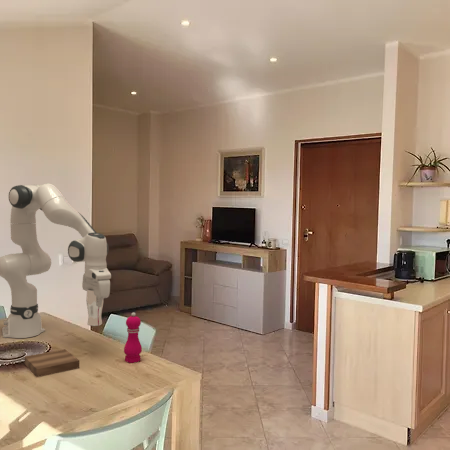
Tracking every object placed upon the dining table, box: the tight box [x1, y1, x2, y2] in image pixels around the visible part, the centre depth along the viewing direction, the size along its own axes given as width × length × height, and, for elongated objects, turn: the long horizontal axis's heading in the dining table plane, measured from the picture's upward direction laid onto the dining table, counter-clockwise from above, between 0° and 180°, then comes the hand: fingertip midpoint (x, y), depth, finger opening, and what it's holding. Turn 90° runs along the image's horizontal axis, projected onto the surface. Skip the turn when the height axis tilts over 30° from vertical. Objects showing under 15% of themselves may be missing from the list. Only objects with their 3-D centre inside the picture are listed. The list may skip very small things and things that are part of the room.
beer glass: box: [86, 288, 105, 327], centre depth 196 cm, size 7×7×15 cm
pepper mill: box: [123, 312, 143, 364], centre depth 191 cm, size 7×7×20 cm
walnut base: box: [24, 348, 80, 378], centre depth 183 cm, size 16×16×3 cm
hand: (94, 304), depth 196 cm, fingers closed on beer glass, 7 cm apart
